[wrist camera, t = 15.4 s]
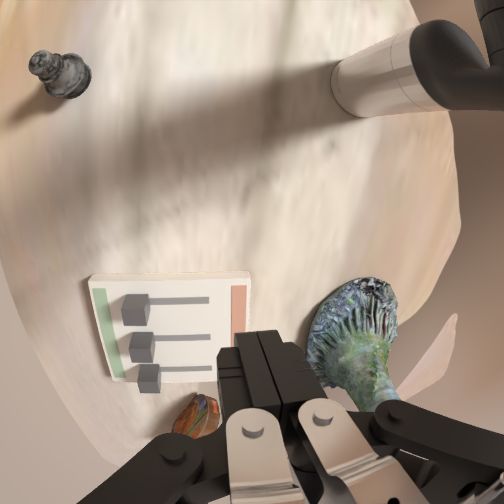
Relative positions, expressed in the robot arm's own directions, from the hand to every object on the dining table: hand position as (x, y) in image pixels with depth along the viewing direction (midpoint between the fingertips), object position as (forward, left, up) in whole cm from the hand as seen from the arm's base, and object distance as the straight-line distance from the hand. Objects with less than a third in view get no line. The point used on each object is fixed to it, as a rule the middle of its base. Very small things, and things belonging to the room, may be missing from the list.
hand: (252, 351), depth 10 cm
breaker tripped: (+10, +18, -26) cm, 33 cm away
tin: (+5, +38, -29) cm, 48 cm away
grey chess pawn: (+19, -18, -29) cm, 39 cm away
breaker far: (+10, +24, -26) cm, 37 cm away
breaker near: (+10, +12, -26) cm, 31 cm away
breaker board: (+6, +18, -29) cm, 35 cm away
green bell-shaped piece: (-24, +22, -29) cm, 44 cm away
